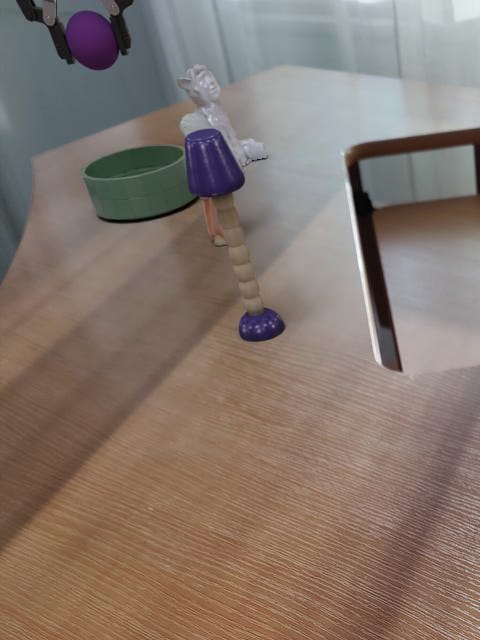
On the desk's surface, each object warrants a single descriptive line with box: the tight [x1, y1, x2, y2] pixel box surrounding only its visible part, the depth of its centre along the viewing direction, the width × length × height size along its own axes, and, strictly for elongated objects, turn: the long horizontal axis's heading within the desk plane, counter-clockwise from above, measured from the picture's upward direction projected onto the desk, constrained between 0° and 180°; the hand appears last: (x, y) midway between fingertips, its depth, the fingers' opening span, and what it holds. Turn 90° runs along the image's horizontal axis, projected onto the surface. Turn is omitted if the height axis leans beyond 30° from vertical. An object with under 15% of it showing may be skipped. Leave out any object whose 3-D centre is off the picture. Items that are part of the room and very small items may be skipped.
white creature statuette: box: [176, 63, 268, 171], centre depth 115 cm, size 10×9×12 cm
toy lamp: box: [184, 129, 286, 342], centre depth 75 cm, size 5×5×17 cm
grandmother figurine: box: [179, 112, 228, 247], centre depth 95 cm, size 8×4×13 cm, turn 6°
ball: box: [65, 10, 120, 72], centre depth 99 cm, size 6×6×6 cm
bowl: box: [79, 143, 197, 221], centre depth 109 cm, size 13×13×5 cm
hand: (98, 58), depth 100 cm, fingers closed on ball, 5 cm apart
